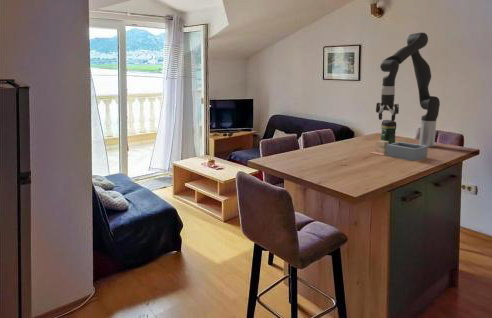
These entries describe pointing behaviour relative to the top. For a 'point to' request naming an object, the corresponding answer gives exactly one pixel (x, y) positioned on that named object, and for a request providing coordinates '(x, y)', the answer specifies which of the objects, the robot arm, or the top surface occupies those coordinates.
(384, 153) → the terracotta mat
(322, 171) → the top surface
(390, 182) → the top surface
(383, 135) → the coffee jar
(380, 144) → the maple block
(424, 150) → the box
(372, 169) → the top surface
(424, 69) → the robot arm
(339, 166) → the top surface
